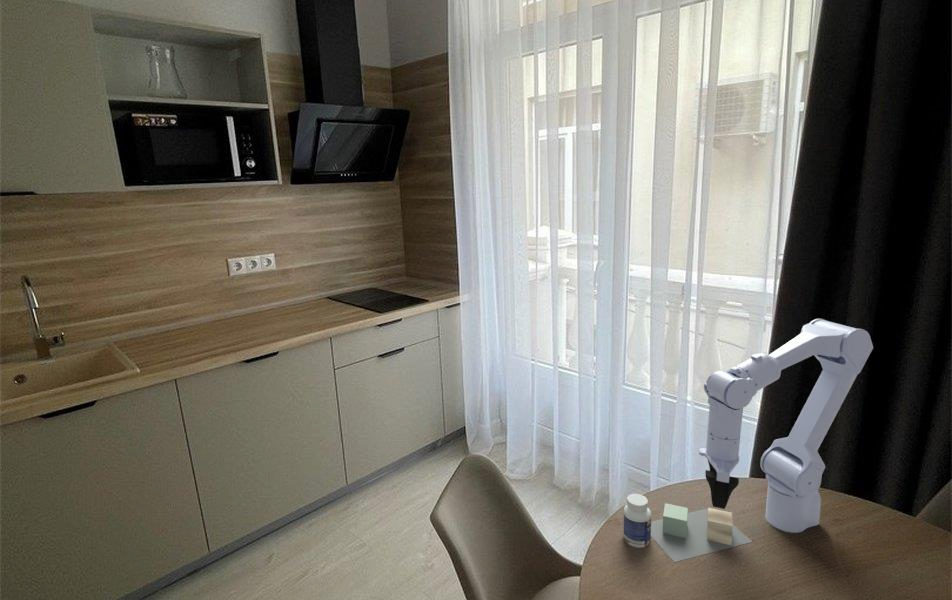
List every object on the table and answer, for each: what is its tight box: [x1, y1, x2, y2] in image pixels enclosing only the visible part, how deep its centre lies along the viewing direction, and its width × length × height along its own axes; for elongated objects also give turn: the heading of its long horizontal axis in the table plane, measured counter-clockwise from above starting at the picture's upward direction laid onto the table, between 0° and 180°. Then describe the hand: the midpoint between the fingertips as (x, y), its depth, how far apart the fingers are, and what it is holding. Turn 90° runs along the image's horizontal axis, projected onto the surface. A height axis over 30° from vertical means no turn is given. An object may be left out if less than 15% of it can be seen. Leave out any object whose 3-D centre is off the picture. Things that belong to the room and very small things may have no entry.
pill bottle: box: [622, 493, 652, 548], centre depth 99 cm, size 5×5×10 cm
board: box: [651, 506, 754, 563], centre depth 100 cm, size 18×12×1 cm, turn 104°
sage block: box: [662, 503, 689, 538], centre depth 101 cm, size 4×4×4 cm
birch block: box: [707, 507, 734, 545], centre depth 99 cm, size 4×4×4 cm
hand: (717, 495), depth 97 cm, fingers open, 7 cm apart
